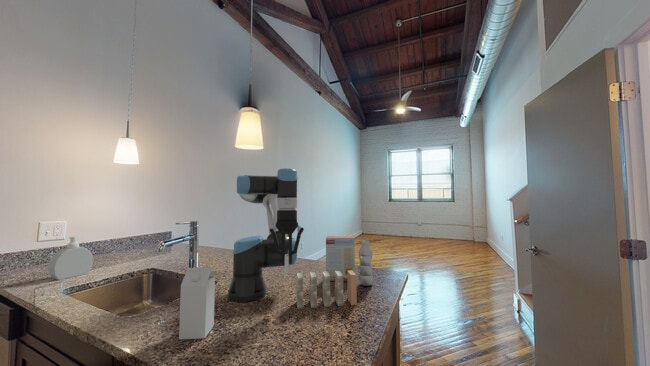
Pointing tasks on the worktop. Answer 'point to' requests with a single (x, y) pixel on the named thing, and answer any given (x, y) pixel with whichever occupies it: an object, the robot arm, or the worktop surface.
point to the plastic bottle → (365, 264)
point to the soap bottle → (70, 261)
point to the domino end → (351, 287)
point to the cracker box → (340, 255)
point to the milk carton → (197, 303)
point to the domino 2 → (313, 289)
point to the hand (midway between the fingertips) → (286, 272)
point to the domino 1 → (299, 290)
